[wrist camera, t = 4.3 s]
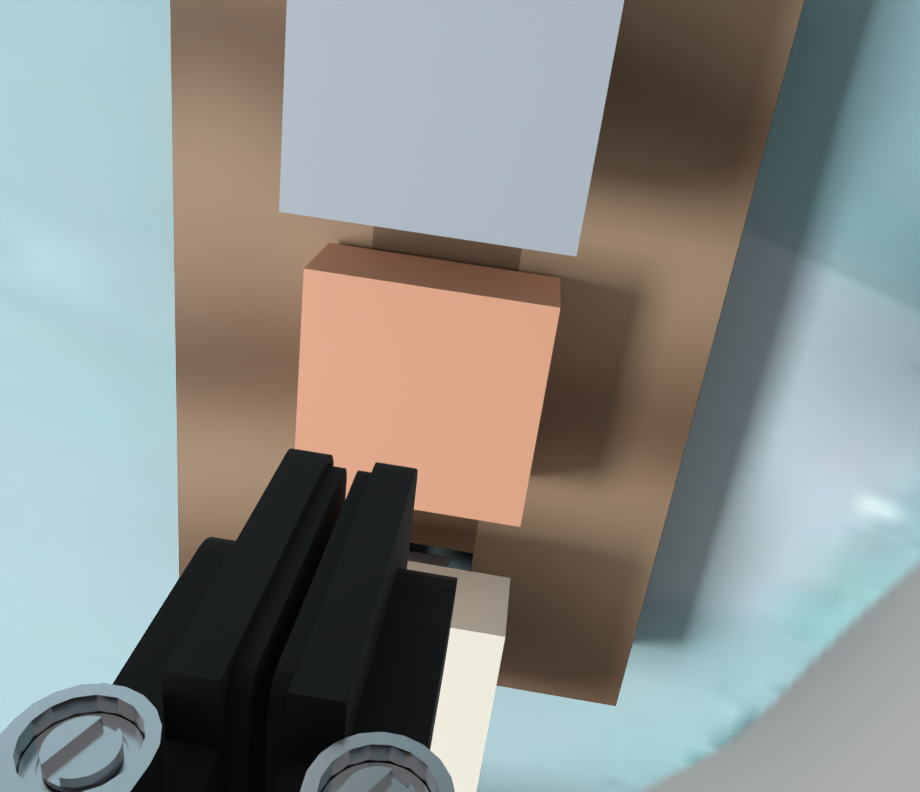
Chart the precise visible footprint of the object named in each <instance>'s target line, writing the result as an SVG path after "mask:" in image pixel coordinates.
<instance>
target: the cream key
mask: <svg viewBox="0 0 920 792" xmlns="http://www.w3.org/2000/svg"><path fill="white" fill-rule="evenodd" d="M448 564H449V557H444V556H438V555H432V554H426V553H420V552H414V551H409V554H408V563H407V569H408V570H414V571H420V572H426V573H432V574H438V575H444V576H450V577H456V578H458V581H457V588H456V595H455V601H454V608H453V614H452V621H451V628H450V634H449V640H448V647H447V653H446V659H445V665H444V672H443V678H442V684H441V690H440V695H439V701H438V707H437V713H436V719H435V725H434V730H433V736H432V742H431V748H430V751H431V752H433V753H434V754H435V755H436V756H437V757H438V758H439V759H441V761H442V763H443V764H444V766H445V768H446V769H447V771H448V772H449V774H450V776H451V777H452V781H453V786H454V791H455V792H476V791H477V786H478V781H479V775H480V770H481V765H482V759H483V754H484V749H485V743H486V738H487V732H488V727H489V722H490V716H491V711H492V706H493V700H494V695H495V690H496V684H497V679H498V674H499V668H500V663H501V658H502V652H503V647H504V642H505V635H506V624H507V612H508V600H509V589H510V578H508V577H502V576H496V575H490V574H484V573H478V572H472V571H466V570H460V569H454V568H448Z"/></svg>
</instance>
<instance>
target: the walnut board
mask: <svg viewBox="0 0 920 792" xmlns="http://www.w3.org/2000/svg"><path fill="white" fill-rule="evenodd" d="M803 3H804V0H624V5H623V10H622V16H621V21H620V26H619V32H618V37H617V42H616V48H615V53H614V58H613V64H612V69H611V74H610V80H609V85H608V90H607V96H606V101H605V106H604V112H603V117H602V123H601V128H600V133H599V139H598V144H597V149H596V155H595V160H594V165H593V171H592V176H591V181H590V187H589V192H588V197H587V203H586V208H585V213H584V219H583V224H582V230H581V235H580V240H579V246H578V251H577V256H570V255H563V254H556V253H550V252H543V251H536V250H530V249H523V248H517V247H510V246H503V245H497V244H490V243H483V242H477V241H470V240H463V239H457V238H450V237H443V236H437V235H430V234H423V233H417V232H410V231H403V230H397V229H390V228H384V227H377V226H370V225H364V224H357V223H350V222H344V221H337V220H330V219H324V218H317V217H310V216H304V215H297V214H290V213H284V212H279V201H280V173H281V146H282V118H283V91H284V63H285V36H286V8H287V0H170V9H171V74H172V138H173V203H174V267H175V331H176V396H177V460H178V525H179V578H180V576H181V575H182V573H183V572H184V570H185V568H186V567H187V565H188V564H189V562H190V561H191V559H192V557H193V556H194V554H195V553H196V551H197V549H198V548H199V546H200V545H201V544H202V543H203V541H204V540H205V539H207V538H209V537H216V538H222V539H228V540H234V541H236V540H237V538H238V536H239V535H240V533H241V531H242V529H243V528H244V526H245V524H246V522H247V521H248V519H249V517H250V515H251V514H252V512H253V510H254V508H255V507H256V505H257V503H258V501H259V500H260V498H261V496H262V494H263V493H264V491H265V489H266V487H267V486H268V484H269V482H270V480H271V479H272V477H273V475H274V473H275V472H276V470H277V468H278V466H279V465H280V463H281V461H282V459H283V458H284V456H285V454H286V453H287V451H288V450H289V449H291V448H293V449H295V434H296V414H297V394H298V374H299V354H300V334H301V314H302V294H303V274H304V268H305V267H306V266H307V265H308V264H309V263H310V262H311V261H312V260H313V259H314V258H315V257H316V256H317V254H318V253H319V252H320V251H321V250H322V249H323V248H324V247H325V246H326V245H327V244H328V243H333V244H340V245H346V246H353V247H359V248H366V249H373V250H379V251H386V252H392V253H399V254H406V255H412V256H419V257H425V258H432V259H439V260H445V261H452V262H458V263H465V264H472V265H478V266H485V267H491V268H498V269H504V270H511V271H518V272H524V273H531V274H537V275H544V276H551V277H557V278H560V299H561V308H560V313H559V319H558V324H557V330H556V335H555V341H554V346H553V352H552V357H551V362H550V368H549V373H548V379H547V384H546V390H545V395H544V401H543V406H542V412H541V417H540V422H539V428H538V433H537V439H536V444H535V450H534V455H533V461H532V466H531V471H530V477H529V482H528V488H527V493H526V499H525V504H524V510H523V515H522V520H521V526H520V527H517V526H511V525H505V524H499V523H493V522H487V521H481V520H475V519H469V518H463V517H457V516H451V515H445V514H438V513H432V512H426V511H420V510H414V511H413V520H412V528H411V537H410V543H415V544H421V545H427V546H433V547H439V548H445V549H451V550H457V551H463V552H469V553H473V560H472V566H471V571H472V572H478V573H484V574H490V575H496V576H502V577H508V578H510V589H509V600H508V612H507V624H506V635H505V642H504V647H503V652H502V658H501V663H500V668H499V674H498V679H497V684H496V685H497V686H503V687H509V688H514V689H520V690H526V691H532V692H538V693H543V694H549V695H555V696H561V697H567V698H572V699H578V700H584V701H590V702H595V703H601V704H607V705H613V706H616V703H617V699H618V696H619V692H620V688H621V684H622V681H623V677H624V673H625V669H626V666H627V662H628V658H629V654H630V651H631V647H632V643H633V639H634V636H635V632H636V628H637V624H638V621H639V617H640V613H641V610H642V606H643V602H644V598H645V595H646V591H647V587H648V583H649V580H650V576H651V572H652V568H653V565H654V561H655V557H656V553H657V550H658V546H659V542H660V538H661V535H662V531H663V527H664V523H665V520H666V516H667V512H668V508H669V505H670V501H671V497H672V493H673V490H674V486H675V482H676V478H677V475H678V471H679V467H680V464H681V460H682V456H683V452H684V449H685V445H686V441H687V437H688V434H689V430H690V426H691V422H692V419H693V415H694V411H695V407H696V404H697V400H698V396H699V392H700V389H701V385H702V381H703V377H704V374H705V370H706V366H707V362H708V359H709V355H710V351H711V347H712V344H713V340H714V336H715V332H716V329H717V325H718V321H719V317H720V314H721V310H722V306H723V303H724V299H725V295H726V291H727V288H728V284H729V280H730V276H731V273H732V269H733V265H734V261H735V258H736V254H737V250H738V246H739V243H740V239H741V235H742V231H743V228H744V224H745V220H746V216H747V213H748V209H749V205H750V201H751V198H752V194H753V190H754V186H755V183H756V179H757V175H758V171H759V168H760V164H761V160H762V157H763V153H764V149H765V145H766V142H767V138H768V134H769V130H770V127H771V123H772V119H773V115H774V112H775V108H776V104H777V100H778V97H779V93H780V89H781V85H782V82H783V78H784V74H785V70H786V67H787V63H788V59H789V55H790V52H791V48H792V44H793V40H794V37H795V33H796V29H797V25H798V22H799V18H800V14H801V11H802V7H803ZM345 500H346V498H345Z"/></svg>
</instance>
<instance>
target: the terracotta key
mask: <svg viewBox="0 0 920 792" xmlns="http://www.w3.org/2000/svg"><path fill="white" fill-rule="evenodd" d="M560 308H561V299H560V278H557V277H551V276H544V275H537V274H531V273H524V272H518V271H511V270H504V269H498V268H491V267H485V266H478V265H472V264H465V263H458V262H452V261H445V260H439V259H432V258H425V257H419V256H412V255H406V254H399V253H392V252H386V251H379V250H373V249H366V248H359V247H353V246H346V245H340V244H333V243H328V244H327V245H326V246H325V247H324V248H323V249H322V250H321V251H320V252H319V253H318V254H317V256H316V257H315V258H314V259H313V260H312V261H311V262H310V263H309V264H308V265H307V266H306V267H305V268H304V274H303V294H302V314H301V334H300V354H299V374H298V394H297V414H296V434H295V449H299V450H305V451H311V452H317V453H324V454H330V455H332V456H333V461H334V466H335V467H341V468H346V470H347V483H346V497H347V495H348V492H349V490H350V487H351V485H352V483H353V480H354V478H355V475H356V473H357V471H359V470H360V471H366V472H372V470H373V467H374V465H375V463H376V462H379V463H386V464H392V465H398V466H404V467H410V468H416V469H417V470H418V474H417V485H416V494H415V503H414V510H420V511H426V512H432V513H438V514H445V515H451V516H457V517H463V518H469V519H475V520H481V521H487V522H493V523H499V524H505V525H511V526H517V527H520V526H521V520H522V515H523V510H524V504H525V499H526V493H527V488H528V482H529V477H530V471H531V466H532V461H533V455H534V450H535V444H536V439H537V433H538V428H539V422H540V417H541V412H542V406H543V401H544V395H545V390H546V384H547V379H548V373H549V368H550V362H551V357H552V352H553V346H554V341H555V335H556V330H557V324H558V319H559V313H560ZM346 497H345V498H346Z"/></svg>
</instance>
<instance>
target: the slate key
mask: <svg viewBox="0 0 920 792" xmlns="http://www.w3.org/2000/svg"><path fill="white" fill-rule="evenodd" d="M623 5H624V0H287V8H286V36H285V63H284V91H283V118H282V146H281V173H280V201H279V212H284V213H290V214H297V215H304V216H310V217H317V218H324V219H330V220H337V221H344V222H350V223H357V224H364V225H370V226H377V227H384V228H390V229H397V230H403V231H410V232H417V233H423V234H430V235H437V236H443V237H450V238H457V239H463V240H470V241H477V242H483V243H490V244H497V245H503V246H510V247H517V248H523V249H530V250H536V251H543V252H550V253H556V254H563V255H570V256H577V251H578V246H579V240H580V235H581V230H582V224H583V219H584V213H585V208H586V203H587V197H588V192H589V187H590V181H591V176H592V171H593V165H594V160H595V155H596V149H597V144H598V139H599V133H600V128H601V123H602V117H603V112H604V106H605V101H606V96H607V90H608V85H609V80H610V74H611V69H612V64H613V58H614V53H615V48H616V42H617V37H618V32H619V26H620V21H621V16H622V10H623Z"/></svg>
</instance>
